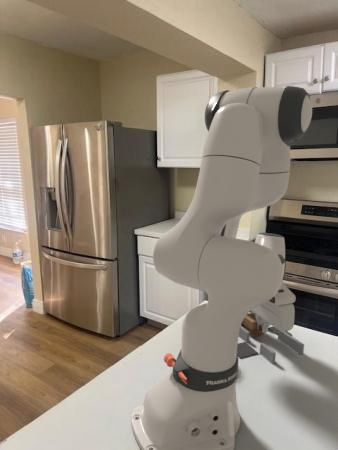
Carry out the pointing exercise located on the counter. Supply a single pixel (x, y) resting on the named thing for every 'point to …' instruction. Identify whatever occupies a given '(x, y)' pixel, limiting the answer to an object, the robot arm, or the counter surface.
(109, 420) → the counter surface
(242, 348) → the mats
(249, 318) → the walnut block
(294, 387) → the counter surface
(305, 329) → the counter surface
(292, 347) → the rail lane
